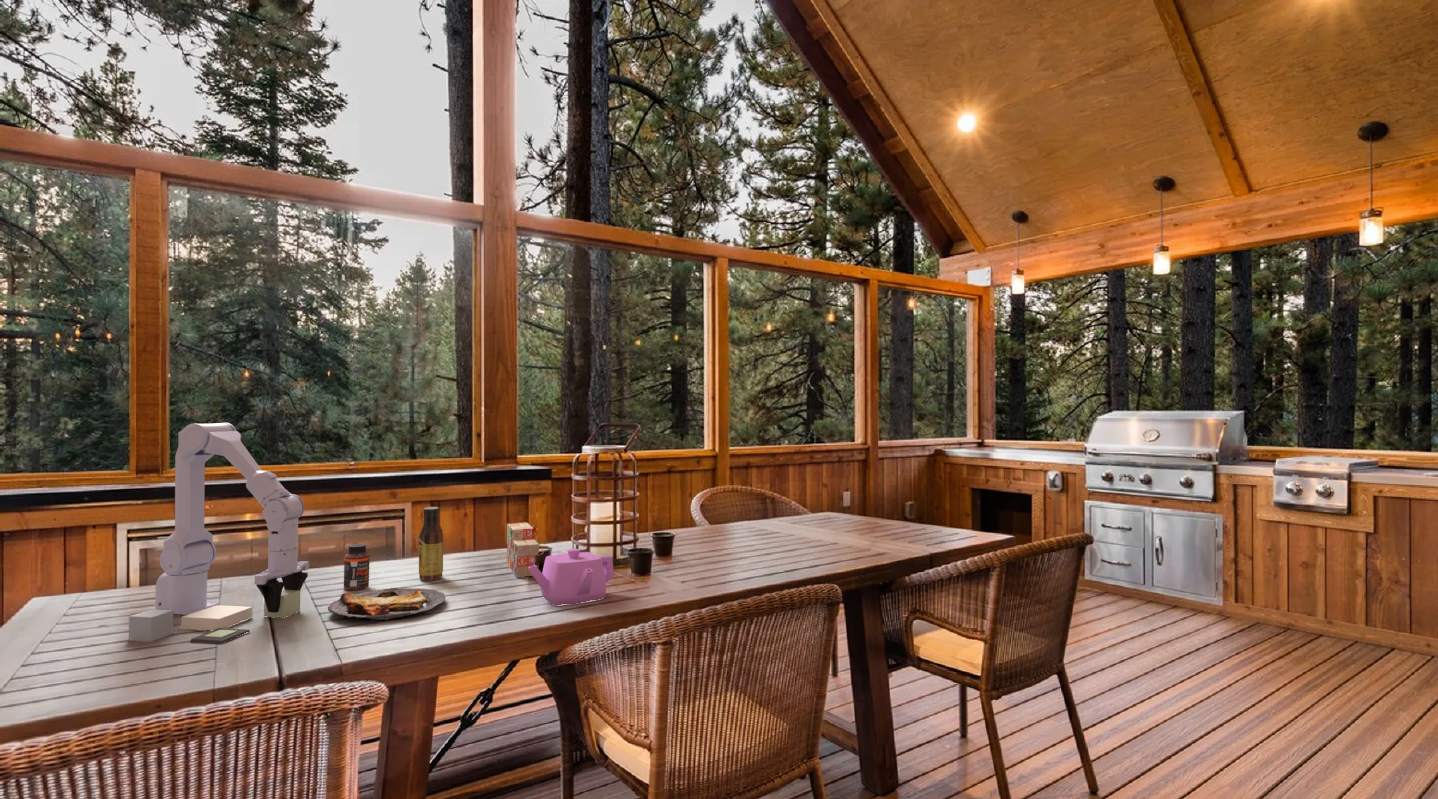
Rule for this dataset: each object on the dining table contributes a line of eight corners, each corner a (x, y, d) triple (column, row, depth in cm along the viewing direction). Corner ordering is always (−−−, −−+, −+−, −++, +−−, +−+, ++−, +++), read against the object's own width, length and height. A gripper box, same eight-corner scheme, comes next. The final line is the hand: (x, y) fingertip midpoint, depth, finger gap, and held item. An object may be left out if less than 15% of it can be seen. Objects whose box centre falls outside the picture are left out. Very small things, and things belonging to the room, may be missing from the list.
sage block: (263, 617, 158) (264, 595, 158) (280, 610, 163) (280, 589, 163) (284, 618, 158) (284, 596, 158) (300, 611, 163) (300, 590, 163)
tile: (190, 641, 142) (190, 637, 142) (219, 630, 148) (219, 627, 148) (222, 643, 141) (222, 639, 141) (249, 632, 148) (249, 628, 148)
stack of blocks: (538, 576, 199) (539, 533, 199) (516, 578, 196) (516, 534, 196) (527, 561, 218) (527, 521, 218) (506, 562, 216) (506, 522, 216)
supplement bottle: (358, 591, 180) (359, 547, 181) (338, 590, 182) (338, 546, 182) (374, 586, 186) (374, 543, 186) (354, 584, 188) (355, 542, 188)
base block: (181, 631, 150) (181, 616, 150) (216, 618, 158) (216, 605, 159) (219, 633, 148) (219, 618, 148) (252, 620, 157) (252, 606, 157)
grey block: (128, 641, 142) (129, 616, 142) (151, 633, 147) (151, 609, 147) (150, 642, 141) (151, 617, 142) (172, 634, 146) (173, 610, 147)
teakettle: (616, 592, 183) (617, 544, 183) (590, 610, 167) (591, 558, 167) (556, 587, 187) (557, 541, 187) (525, 605, 170) (526, 554, 170)
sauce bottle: (423, 576, 197) (423, 505, 197) (445, 576, 198) (446, 505, 198) (414, 582, 191) (415, 509, 191) (438, 581, 191) (439, 509, 191)
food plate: (322, 628, 150) (323, 612, 150) (332, 602, 171) (333, 587, 171) (447, 618, 160) (447, 603, 160) (442, 594, 182) (442, 581, 182)
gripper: (275, 556, 153) (274, 618, 153) (320, 543, 167) (320, 600, 167) (246, 555, 154) (245, 617, 154) (293, 542, 168) (292, 599, 168)
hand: (282, 608), depth 160 cm, fingers closed on sage block, 5 cm apart
